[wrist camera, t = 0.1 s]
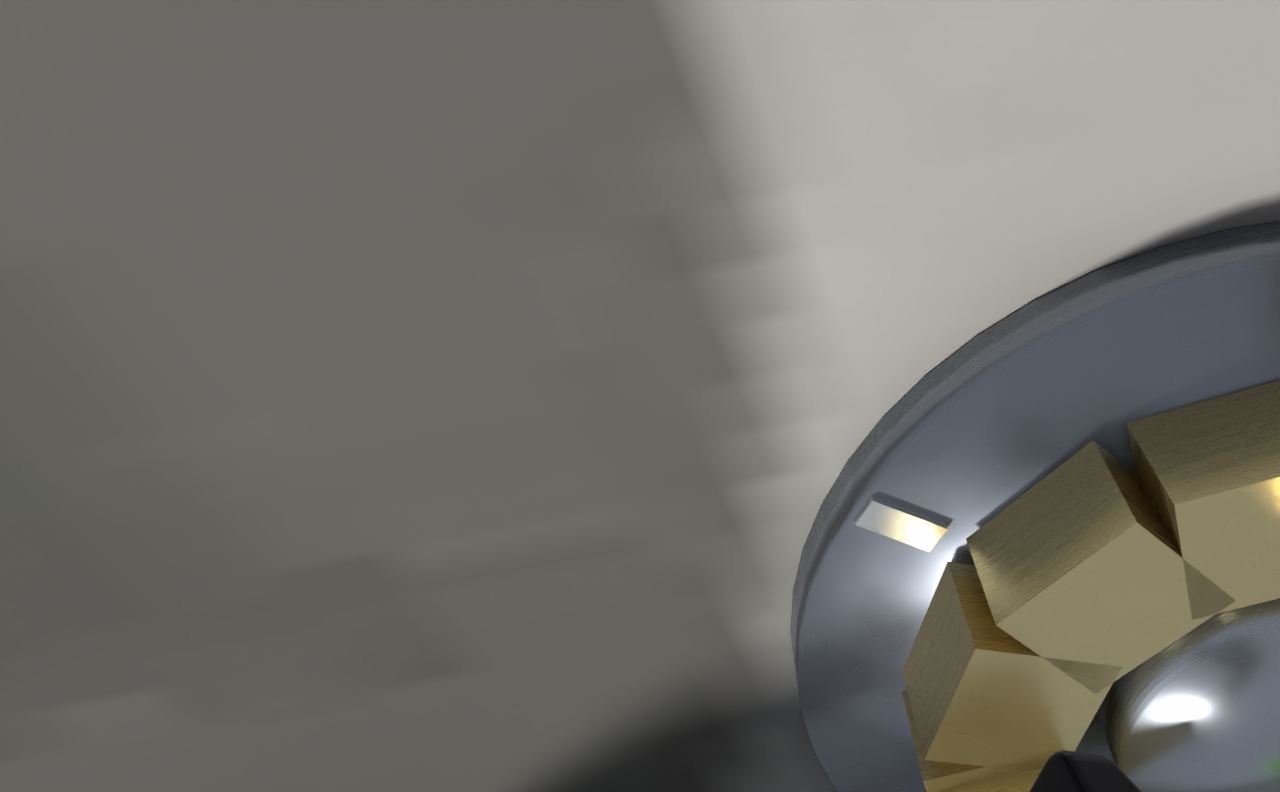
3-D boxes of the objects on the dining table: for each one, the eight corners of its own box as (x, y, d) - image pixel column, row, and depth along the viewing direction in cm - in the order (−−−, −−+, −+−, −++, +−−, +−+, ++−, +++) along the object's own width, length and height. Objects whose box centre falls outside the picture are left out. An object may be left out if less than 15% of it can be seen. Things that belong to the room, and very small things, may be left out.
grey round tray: (1389, 891, 35) (1471, 1036, 32) (714, 821, 33) (723, 966, 30) (1901, 299, 24) (2117, 420, 21) (936, 139, 22) (992, 244, 19)
